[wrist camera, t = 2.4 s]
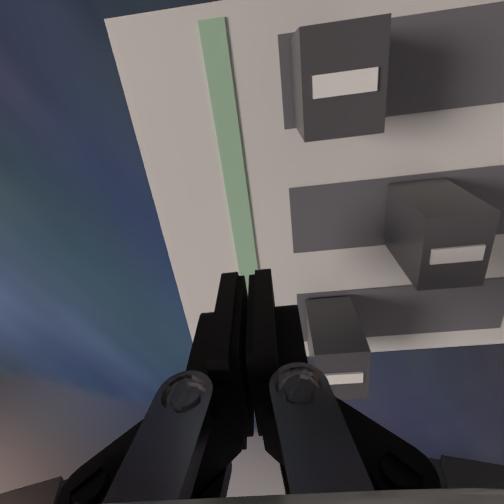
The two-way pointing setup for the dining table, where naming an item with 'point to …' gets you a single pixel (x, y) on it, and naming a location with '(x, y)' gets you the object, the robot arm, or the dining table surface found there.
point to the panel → (316, 156)
